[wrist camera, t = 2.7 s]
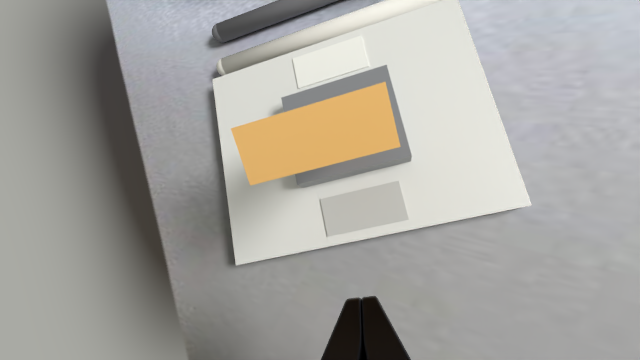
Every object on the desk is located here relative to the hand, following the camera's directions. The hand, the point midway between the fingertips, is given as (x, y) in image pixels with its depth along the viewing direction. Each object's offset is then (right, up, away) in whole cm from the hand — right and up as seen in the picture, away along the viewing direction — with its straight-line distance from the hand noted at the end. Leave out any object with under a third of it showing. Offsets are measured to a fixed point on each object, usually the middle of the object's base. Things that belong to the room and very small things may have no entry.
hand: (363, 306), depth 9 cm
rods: (-1, +16, +15) cm, 22 cm away
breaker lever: (0, +7, +9) cm, 12 cm away
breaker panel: (+1, +6, +13) cm, 14 cm away
